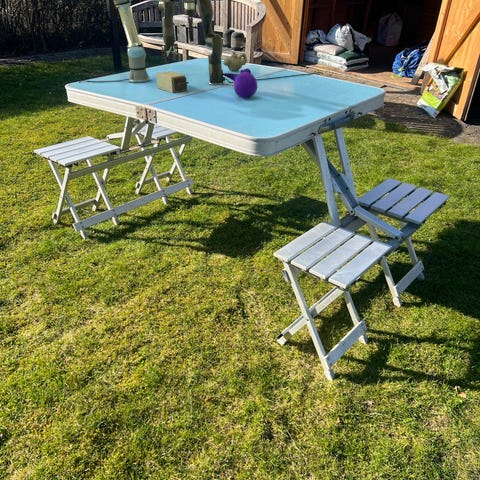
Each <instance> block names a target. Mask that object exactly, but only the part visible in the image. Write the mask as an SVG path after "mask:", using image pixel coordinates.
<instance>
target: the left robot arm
mask: <svg viewBox="0 0 480 480" xmlns="http://www.w3.org/2000/svg"><path fill="white" fill-rule="evenodd" d="M131 1H132V0H113V4H114V6H115V8H117V9H118V12H119V16H120V19H121V23H122V27H123V29H124V33H125V35H126V36H125V37H126V40H127V43H128V44H127V46H126V47H127V56H128V66H129V76H128V78H124V79H119V80H117V79H116V80H86V79H85V80H84V79H82V80H79V81H78V82H79V83H78V84H80V83H81V82H86V83H87V82H88V83H115V82H117V83H118V82H125V81H128V82H129V83H133V84H141V83H148V82H150V76H149V74H148V71H147V67H146V58H147V51H146V50H145V48H144V43H143V42H141V40H140V37H139V34H138V30H137V27H136V23H135V19H134V16H133V13H132V9H131V4H132V2H131ZM147 1H148V2H149V1H153V2H154V1H155V2H157V1H158V2H160V0H147ZM183 7H184V16H187V24H188V37H189V42H190V43H192V42H195V40H194V27H193V26H194V25H193V24H194V17H193V16H196V10H195V7H196V4H195V0H183Z"/></svg>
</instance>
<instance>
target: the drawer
mask: <svg viewBox="0 0 480 480" xmlns="http://www.w3.org/2000/svg"><path fill="white" fill-rule="evenodd" d="M172 79H173V90H174V91H175V92H174V93H177V92H176V91H180V92H182V91H181V90H185V91H187V90H188V85H189V83H190V82H189V81H188V80H187V76H185V77H178V78H172Z"/></svg>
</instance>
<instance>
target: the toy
mask: <svg viewBox="0 0 480 480" xmlns="http://www.w3.org/2000/svg"><path fill="white" fill-rule="evenodd" d="M222 75H223V77H225V78H227V79H228V80H231V81H232V82H234V83H233V90H234V92H235V94H236V95H237V96H238V97H239V98H242V99H250V98H252V97H253V96H254V95H255V94H256V92H257V91H258V80H256V79H257V78H256V77H255V75H254V74H252V71H251V69H250V68H248V67H246V68H243V69H240V70H239V73H233V72H223V73H222Z"/></svg>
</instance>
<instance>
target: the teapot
mask: <svg viewBox="0 0 480 480" xmlns="http://www.w3.org/2000/svg"><path fill="white" fill-rule="evenodd" d="M242 58H243V60H241V59H242ZM247 61H248V59H247V54H246V53H244V52H243V53H240V54H239V55H238V54H237V53H236V51H232V54H231V55H230V57H226V58H225V59H224V60H223V64H222V65H224V66H225V67H227V69H228V71H229V72H231V73H233V72H238V71H240V70H241V69H242V67H243V66H245V65H246V64H247Z"/></svg>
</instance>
